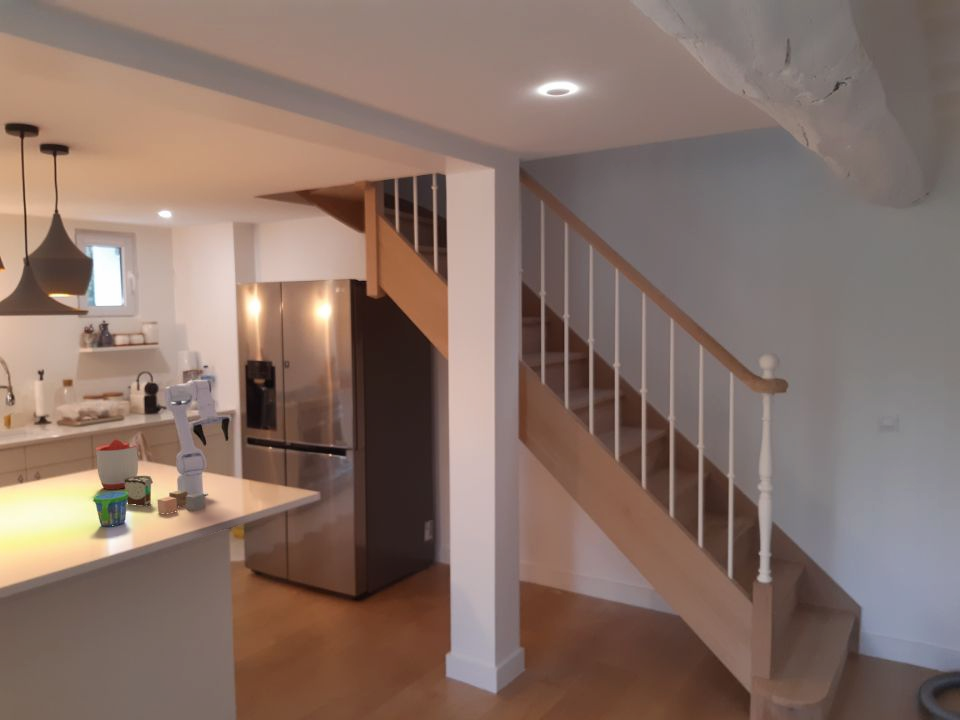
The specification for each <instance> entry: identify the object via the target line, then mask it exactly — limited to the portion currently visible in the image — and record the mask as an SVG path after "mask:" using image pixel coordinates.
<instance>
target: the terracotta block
mask: <svg viewBox="0 0 960 720" xmlns="http://www.w3.org/2000/svg"><path fill="white" fill-rule="evenodd" d="M156 501H157V513H158V512H159V513H158V514H160V513H164V514H167V513H170V514H172V513H171V512H174V513H176V512H175V511H177V512H178V507H177V501H176V498H173V497H169V496H166V497H162V498H158V499H157V500H156ZM164 514H163V515H164ZM167 515H168V514H167Z"/></svg>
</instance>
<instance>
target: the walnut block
mask: <svg viewBox="0 0 960 720" xmlns="http://www.w3.org/2000/svg"><path fill="white" fill-rule="evenodd" d="M168 494H169V495H168V497H173V498H176V501H177V508H179V507H178V506H181V507H183V506H182V505H184V506H186V496H188V493H187V491H182V490H178V489H177V490H175V491H171V492H169V493H168Z"/></svg>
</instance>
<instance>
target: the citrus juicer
mask: <svg viewBox="0 0 960 720" xmlns="http://www.w3.org/2000/svg"><path fill="white" fill-rule="evenodd" d="M95 451H96V452H95V453H96V465H97V474H98V477H99V480H100V483H101V485H102V487H103V488H104V489H106V490H114V489H116V490H119V489H125V483H123V480H124V478H126V477H132V476H138V473H139V472H138V470H139V461H138V460H139V459H138V457H139V456H140V455H141V452H140V451H139V450H138V444H137V443H135V444H134V445H132V446H130V443H129V442H122V441H121V440H119V439H118V438H115V439H114V440H112V442H111V443H110V444H104V445H100V446H97V447H95Z"/></svg>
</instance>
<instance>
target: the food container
mask: <svg viewBox="0 0 960 720" xmlns="http://www.w3.org/2000/svg"><path fill="white" fill-rule="evenodd" d="M123 483H125V488H124V490H125V492H128V499H127V503H128V504H136V505H143V506H142V507H144V506H146V505H148V506H149V504H150V503H152V502H151V499H152V495H151V494H152V484H153V483H154V482H153V478H152V477H151V476H149V475H137V476H132V477H126V478H124V480H123ZM128 504H127V505H128ZM136 505H135V506H136ZM150 505H151V504H150ZM146 507H147V506H146Z"/></svg>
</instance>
